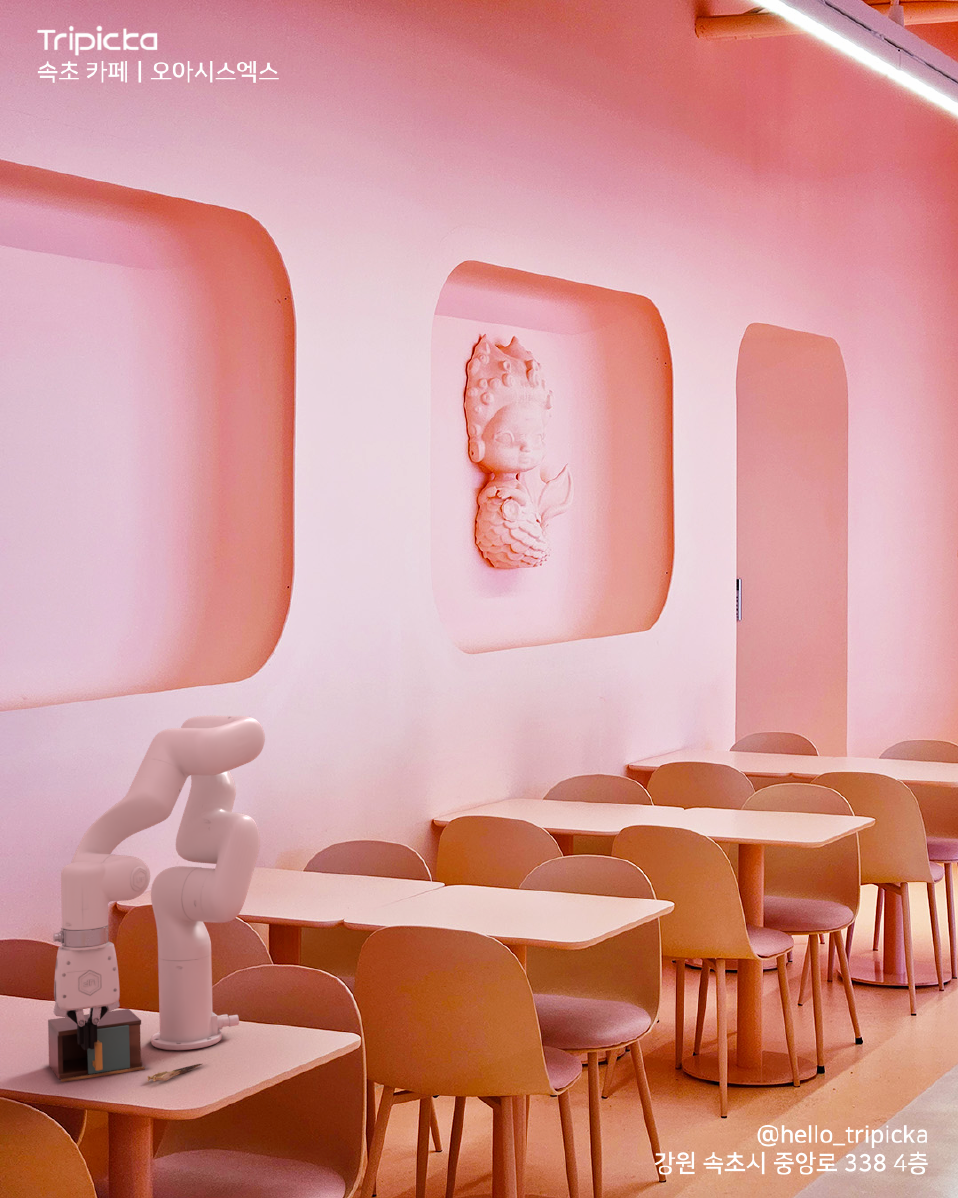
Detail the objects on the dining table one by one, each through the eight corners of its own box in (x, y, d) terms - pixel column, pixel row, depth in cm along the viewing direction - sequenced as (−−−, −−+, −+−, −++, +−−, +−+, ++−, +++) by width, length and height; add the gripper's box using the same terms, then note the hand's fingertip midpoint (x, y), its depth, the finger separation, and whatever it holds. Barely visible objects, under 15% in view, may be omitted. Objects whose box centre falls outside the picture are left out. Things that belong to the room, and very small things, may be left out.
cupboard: (129, 1054, 271) (128, 1008, 271) (144, 1069, 261) (143, 1022, 261) (49, 1066, 265) (48, 1019, 265) (61, 1082, 255) (60, 1034, 255)
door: (129, 1067, 261) (128, 1025, 261) (135, 1073, 258) (134, 1030, 258) (87, 1073, 258) (86, 1030, 258) (93, 1080, 254) (92, 1036, 255)
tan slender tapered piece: (199, 1065, 263) (199, 1057, 263) (210, 1068, 261) (210, 1059, 261) (145, 1083, 253) (145, 1075, 253) (155, 1086, 252) (155, 1077, 252)
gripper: (43, 946, 248) (45, 1060, 248) (135, 936, 255) (137, 1047, 255) (35, 938, 255) (37, 1049, 255) (125, 928, 262) (127, 1036, 261)
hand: (87, 1047), depth 255 cm, fingers closed
